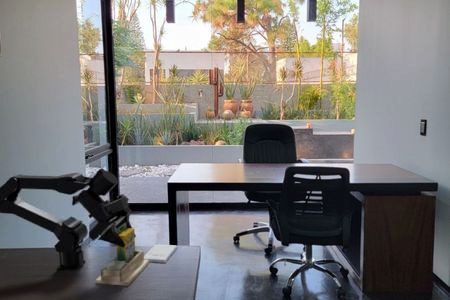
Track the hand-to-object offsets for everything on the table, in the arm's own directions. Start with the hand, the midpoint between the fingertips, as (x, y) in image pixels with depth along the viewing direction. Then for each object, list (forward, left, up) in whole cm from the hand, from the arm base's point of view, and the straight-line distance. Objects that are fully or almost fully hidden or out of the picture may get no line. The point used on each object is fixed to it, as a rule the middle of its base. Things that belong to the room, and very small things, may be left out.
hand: (129, 241), depth 127 cm
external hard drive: (+5, +12, -10) cm, 17 cm away
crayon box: (-1, 0, -7) cm, 7 cm away
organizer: (-1, -3, -9) cm, 9 cm away
